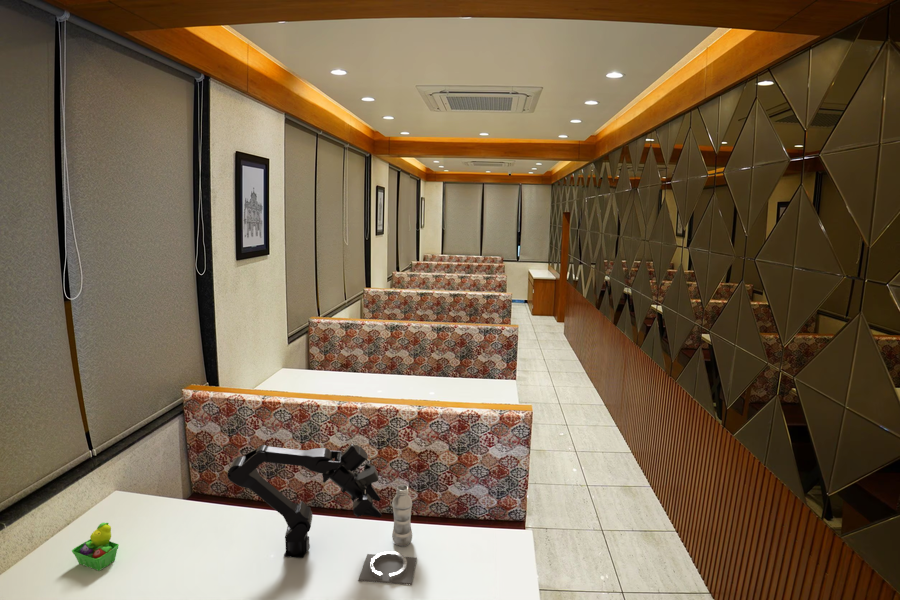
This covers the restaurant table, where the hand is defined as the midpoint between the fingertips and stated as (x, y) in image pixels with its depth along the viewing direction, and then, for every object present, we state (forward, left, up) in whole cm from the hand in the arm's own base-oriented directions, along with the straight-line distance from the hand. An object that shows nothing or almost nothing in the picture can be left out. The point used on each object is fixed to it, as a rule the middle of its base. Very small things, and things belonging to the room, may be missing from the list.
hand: (380, 508), depth 173 cm
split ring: (+5, -12, -13) cm, 18 cm away
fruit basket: (-85, -17, -14) cm, 88 cm away
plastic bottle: (+7, +2, -13) cm, 15 cm away
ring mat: (+5, -12, -13) cm, 18 cm away
